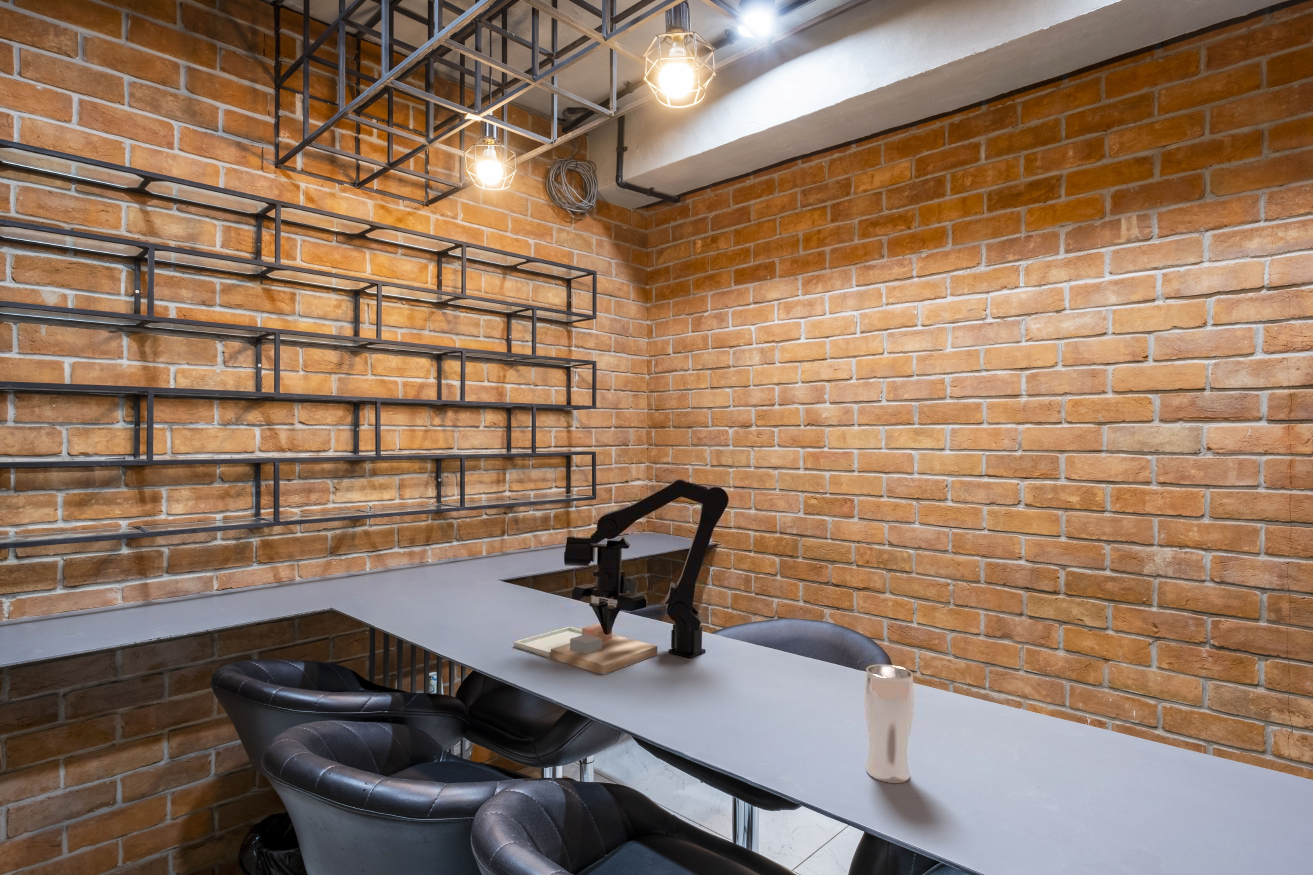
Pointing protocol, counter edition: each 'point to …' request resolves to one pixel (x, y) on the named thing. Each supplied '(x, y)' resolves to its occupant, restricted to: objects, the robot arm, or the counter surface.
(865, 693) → the beer glass
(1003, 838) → the counter surface
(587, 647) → the grey box
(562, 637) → the tray
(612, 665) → the birch board
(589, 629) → the terracotta block
